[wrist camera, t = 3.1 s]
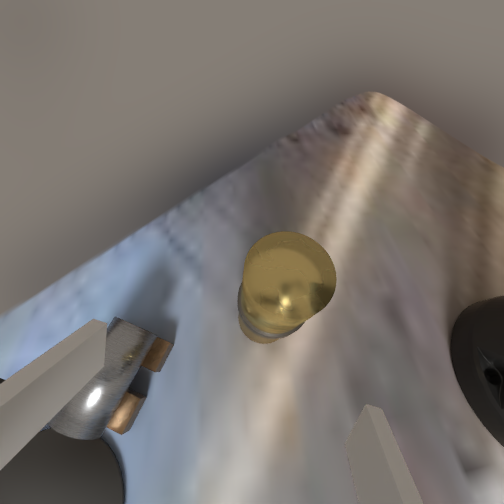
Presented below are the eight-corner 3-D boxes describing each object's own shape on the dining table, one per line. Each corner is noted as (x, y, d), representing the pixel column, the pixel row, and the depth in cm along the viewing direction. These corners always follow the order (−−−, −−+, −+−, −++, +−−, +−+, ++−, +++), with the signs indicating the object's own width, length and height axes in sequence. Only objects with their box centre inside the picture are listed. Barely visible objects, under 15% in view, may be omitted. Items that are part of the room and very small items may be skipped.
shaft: (128, 431, 18) (95, 451, 14) (72, 403, 19) (22, 413, 14) (174, 343, 22) (159, 336, 17) (125, 321, 22) (97, 308, 18)
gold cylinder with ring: (301, 318, 23) (359, 275, 13) (263, 358, 22) (294, 347, 11) (263, 280, 25) (287, 213, 14) (225, 315, 23) (219, 267, 12)
